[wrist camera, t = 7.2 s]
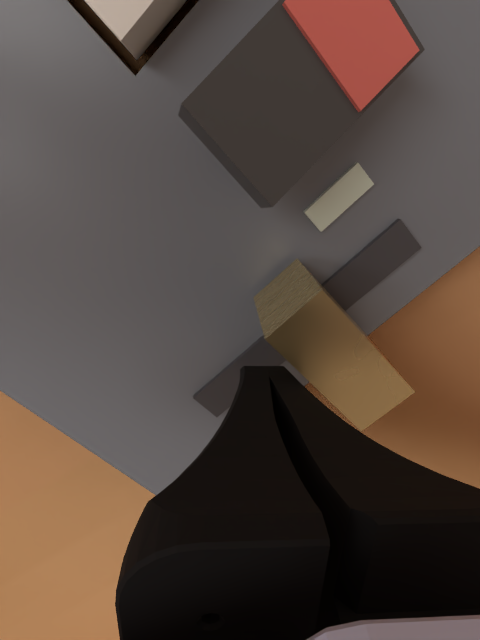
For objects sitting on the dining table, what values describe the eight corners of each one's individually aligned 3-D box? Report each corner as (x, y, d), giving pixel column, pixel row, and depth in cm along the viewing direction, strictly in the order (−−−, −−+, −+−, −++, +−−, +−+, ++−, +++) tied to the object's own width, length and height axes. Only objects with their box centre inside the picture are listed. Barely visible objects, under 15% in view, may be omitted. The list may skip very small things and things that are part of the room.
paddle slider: (253, 297, 12) (265, 339, 10) (297, 258, 12) (322, 289, 9) (331, 374, 14) (361, 431, 11) (372, 341, 13) (415, 391, 10)
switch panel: (-218, 200, 12) (-319, 211, 10) (336, -665, 7) (395, -1050, 5) (166, 472, 17) (159, 520, 15) (643, 81, 12) (741, 64, 10)
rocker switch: (178, 115, 9) (181, 101, 8) (327, -43, 9) (352, -80, 8) (260, 208, 10) (274, 207, 9) (398, 65, 10) (428, 47, 9)
